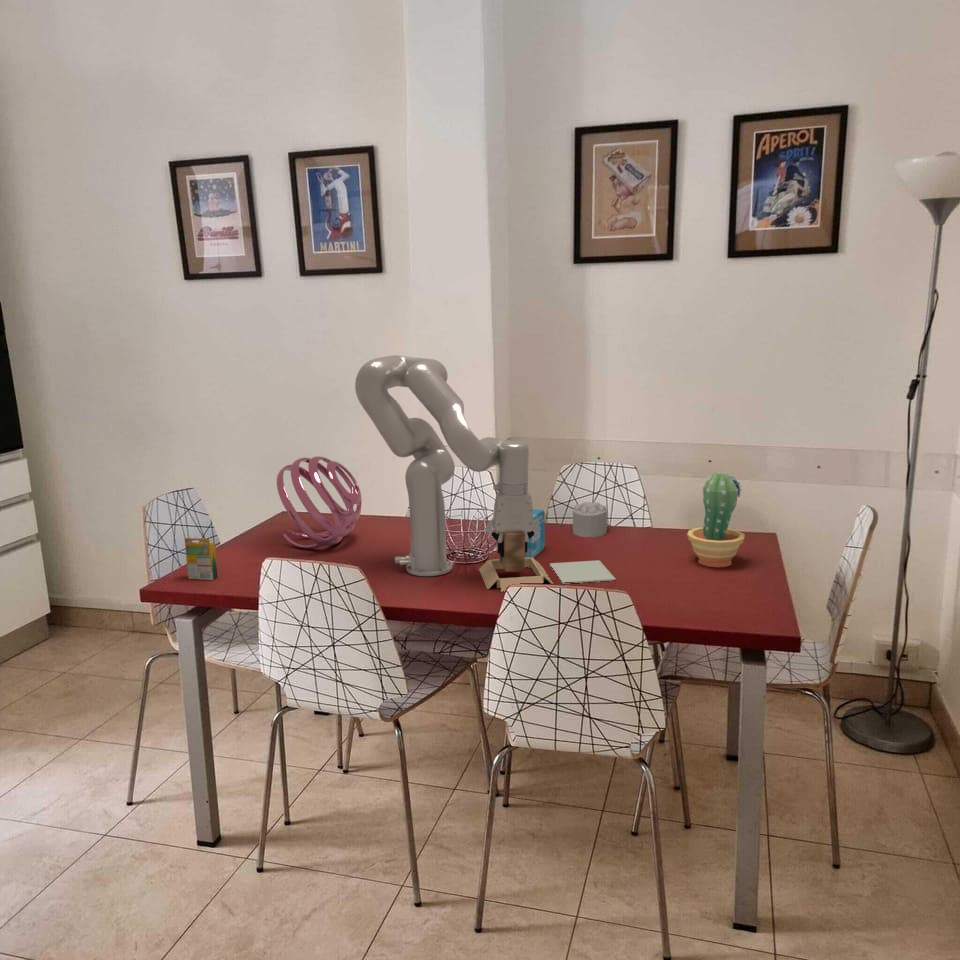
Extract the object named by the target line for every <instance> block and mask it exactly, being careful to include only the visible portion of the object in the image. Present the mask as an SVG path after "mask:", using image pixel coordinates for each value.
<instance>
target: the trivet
mask: <svg viewBox="0 0 960 960" xmlns="http://www.w3.org/2000/svg"><path fill="white" fill-rule="evenodd" d="M549 567H550V568H551V567H552V568H553V569H552V568H551V569H552V571H553V570H554V571H555V572H554V571H553V572H554V574H555V573H556V574H557V575H556V574H555V575H556V576H558V577H559V578H558V577H557V578H558V580H559V579H560V580H561V581H560V580H559V581H560V583H561V582H562V583H561V584H562V585H563V584H565V585H571V584H570V583H565V582H574V583H580V584H584V583H583V582H586V583H585V584H588V583H587V582H594V581H595V583H601V582H600V581H610V582H613V581H612V580H616V577H615V576H614V575H613V574H612V573H611V572H610V570H609V569H607V567H606V566H605V565H604V564H603V563H602V562H601V560H584V561H568V562H551V563H549ZM596 581H597V582H596Z"/></svg>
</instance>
